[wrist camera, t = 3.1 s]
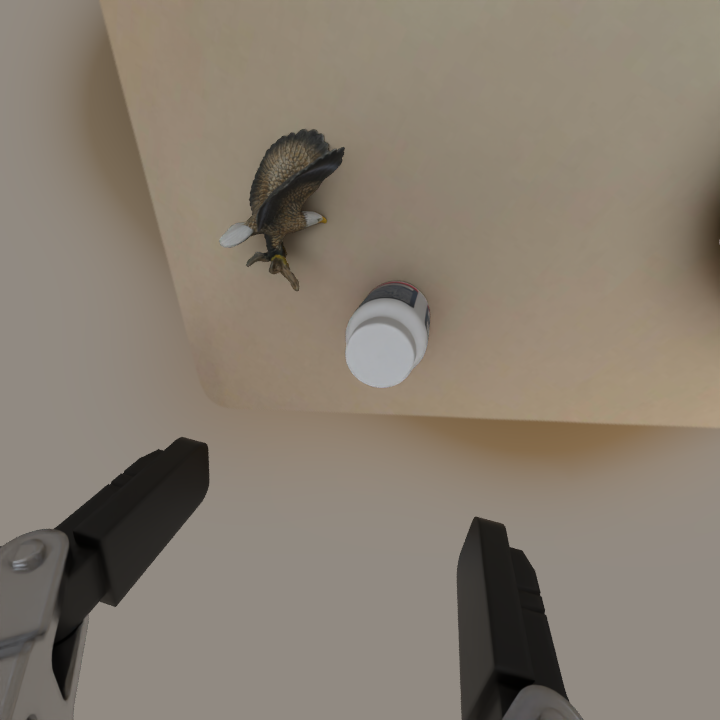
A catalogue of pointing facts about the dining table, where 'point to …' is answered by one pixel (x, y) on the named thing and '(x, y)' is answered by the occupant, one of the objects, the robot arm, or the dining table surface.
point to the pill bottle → (388, 334)
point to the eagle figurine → (285, 196)
